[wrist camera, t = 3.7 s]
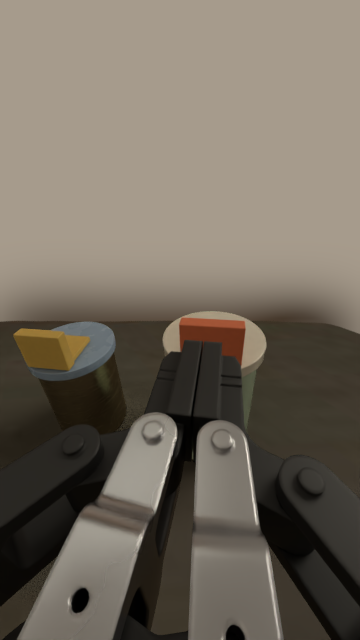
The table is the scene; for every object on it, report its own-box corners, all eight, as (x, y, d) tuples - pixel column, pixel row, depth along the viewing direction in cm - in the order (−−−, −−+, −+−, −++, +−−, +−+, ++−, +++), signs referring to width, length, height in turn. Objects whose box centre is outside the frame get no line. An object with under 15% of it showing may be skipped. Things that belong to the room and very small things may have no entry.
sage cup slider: (239, 332, 22) (243, 296, 20) (241, 369, 18) (245, 328, 16) (189, 329, 23) (188, 294, 21) (180, 363, 19) (178, 324, 17)
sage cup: (247, 402, 32) (261, 312, 25) (252, 475, 25) (273, 376, 18) (178, 395, 33) (173, 308, 26) (163, 462, 26) (150, 365, 19)
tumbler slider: (92, 340, 25) (84, 310, 24) (69, 371, 22) (57, 338, 20) (56, 337, 26) (45, 308, 24) (27, 367, 22) (12, 334, 21)
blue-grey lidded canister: (138, 392, 34) (125, 323, 28) (114, 452, 27) (91, 377, 21) (80, 386, 35) (56, 319, 30) (43, 442, 28) (3, 368, 23)
